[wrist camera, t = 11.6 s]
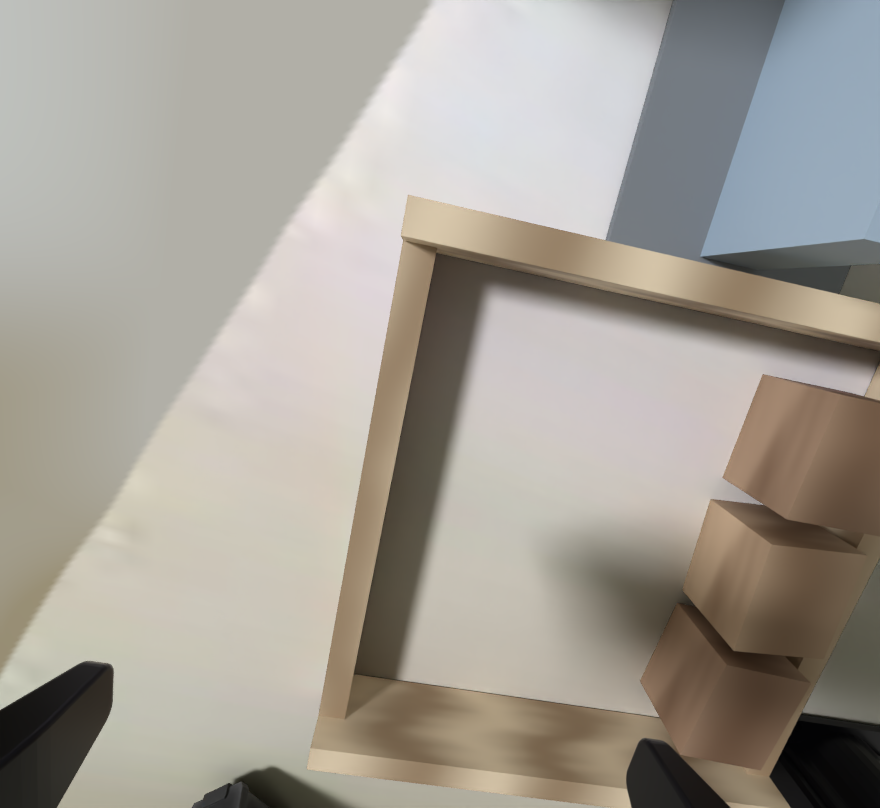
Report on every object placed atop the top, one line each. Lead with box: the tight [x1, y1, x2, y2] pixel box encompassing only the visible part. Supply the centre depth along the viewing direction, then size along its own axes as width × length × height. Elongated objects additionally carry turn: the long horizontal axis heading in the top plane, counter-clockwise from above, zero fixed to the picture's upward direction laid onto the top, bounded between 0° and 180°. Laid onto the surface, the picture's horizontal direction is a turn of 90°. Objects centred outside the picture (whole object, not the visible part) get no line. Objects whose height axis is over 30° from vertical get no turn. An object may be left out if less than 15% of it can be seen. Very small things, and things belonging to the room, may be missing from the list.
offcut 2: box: [682, 499, 867, 659], centre depth 20 cm, size 4×5×4 cm
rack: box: [307, 195, 880, 808], centre depth 20 cm, size 22×23×4 cm
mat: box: [606, 0, 851, 294], centre depth 17 cm, size 10×13×1 cm
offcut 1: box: [723, 374, 880, 537], centre depth 19 cm, size 4×5×4 cm
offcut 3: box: [640, 603, 811, 771], centre depth 22 cm, size 4×5×4 cm
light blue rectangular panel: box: [700, 0, 880, 270], centre depth 13 cm, size 2×12×7 cm, turn 168°
